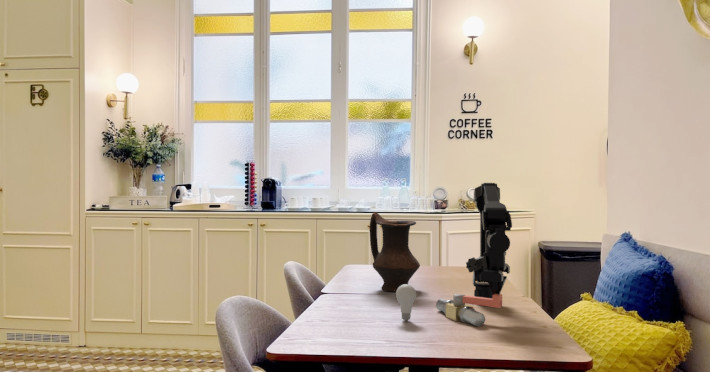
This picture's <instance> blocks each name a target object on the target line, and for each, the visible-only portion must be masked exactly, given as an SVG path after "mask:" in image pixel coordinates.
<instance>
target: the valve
mask: <svg viewBox="0 0 710 372" xmlns="http://www.w3.org/2000/svg"><path fill="white" fill-rule="evenodd" d="M435 308H436V309H437V310H438V311H439V312H443V314H444V315H445V318H448V319H450V320H452V321H454V322H462V323H463V324H466V323H468V324H470V325H472V326H475V327H482V326H483V325H484V324H485V322H486V316H485V314H484V313H483V312H481V311H476V309H475V308H474V306H473V305H472V304H467V303H465V305H454V304H453V299H446V298H442V297H441V298H439V299H438V300H437V301H436V304H435Z"/></svg>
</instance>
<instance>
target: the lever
mask: <svg viewBox="0 0 710 372" xmlns="http://www.w3.org/2000/svg"><path fill="white" fill-rule="evenodd" d="M452 300H453V304H454V305H465V304H468V305H476V306H483V307H492V308H495V309H497V308H499V309H500V308H502V307H503V294H501V293H500V294H494V295H493V299H492V298H483V297H475V296H474V295H465V294H462V293H461V294H460V293H454V294H453V299H452Z"/></svg>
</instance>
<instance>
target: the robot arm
mask: <svg viewBox="0 0 710 372" xmlns="http://www.w3.org/2000/svg"><path fill="white" fill-rule="evenodd" d="M500 200H501V189H500V187H499V186H498V183H496V182H483V183H481V184H480V185H478V186H477V187H475V188H474V191H473V202H474V203H475V208H476V210H477V211H478V212H479V234H480V235H479V257H477V258H475V257H470V258H468V260H467V261H466V262H465V264H466V266H465V267H466V269H467V270H468V273H472V285H473V287H475V289H474V293H473V294H474V295H473V296H475V297H483V298H492V299H493V295H494V294H501V292H502V291H503V287H504V285H505V284H506V283H505V282H506V280H507V277H508V276H507V275H508V274H510V272H511V266H510V265H509V264H508V263H506V255H507V251H508V250H509V249H510V246H511V240H510V237H508V235H507V234H506V231H509V232H510V231H511V228H512V227H513V221H512V216H511V214H510V211H509V210H508V209H507V206H506V205H505V204H504V203H502V202H501V201H500ZM504 273H506V274H507V275H506V276H505V275H504Z"/></svg>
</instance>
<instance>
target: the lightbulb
mask: <svg viewBox="0 0 710 372" xmlns="http://www.w3.org/2000/svg"><path fill="white" fill-rule="evenodd" d="M395 297H396V300H397V302H398V305H399V306H400V307H399V308H400V312H401V319H402V320H403V321H405V322H408V321H410V320H411V315H412V314H411V313H412V309H413V305H414V303H415V301H416V298H417V290H416V289H415V287H414V286H413V285H411V284H409V283H408V284H403V285H401V286H400V287H399V288H398V289H397V291H396V292H395Z"/></svg>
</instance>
